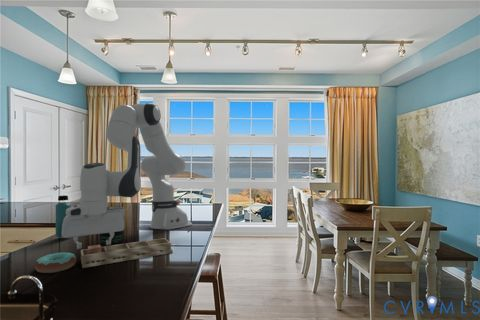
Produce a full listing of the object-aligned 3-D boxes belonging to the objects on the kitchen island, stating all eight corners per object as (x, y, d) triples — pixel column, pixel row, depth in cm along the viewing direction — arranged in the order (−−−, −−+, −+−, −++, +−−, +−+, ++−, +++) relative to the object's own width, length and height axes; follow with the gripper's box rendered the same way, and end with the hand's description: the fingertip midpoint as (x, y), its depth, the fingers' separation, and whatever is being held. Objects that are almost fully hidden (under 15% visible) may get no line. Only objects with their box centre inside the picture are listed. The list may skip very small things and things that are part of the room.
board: (164, 246, 123) (164, 238, 123) (172, 252, 114) (172, 243, 114) (80, 259, 107) (80, 249, 107) (82, 268, 98) (82, 257, 98)
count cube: (99, 255, 108) (99, 244, 108) (101, 258, 105) (101, 247, 105) (87, 257, 106) (87, 246, 106) (88, 260, 103) (88, 249, 103)
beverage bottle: (64, 240, 133) (63, 196, 133) (51, 240, 134) (51, 196, 134) (74, 237, 139) (74, 194, 139) (62, 236, 141) (62, 194, 141)
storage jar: (129, 242, 130) (128, 208, 130) (112, 248, 121) (112, 211, 121) (111, 240, 133) (110, 207, 134) (93, 246, 124) (93, 210, 124)
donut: (71, 272, 95) (71, 260, 95) (28, 277, 91) (28, 264, 91) (80, 260, 106) (80, 249, 106) (42, 264, 103) (42, 252, 103)
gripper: (123, 204, 114) (123, 240, 114) (61, 209, 103) (61, 248, 103) (126, 206, 108) (126, 244, 108) (61, 211, 98) (61, 253, 98)
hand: (94, 246), depth 106 cm, fingers open, 8 cm apart
